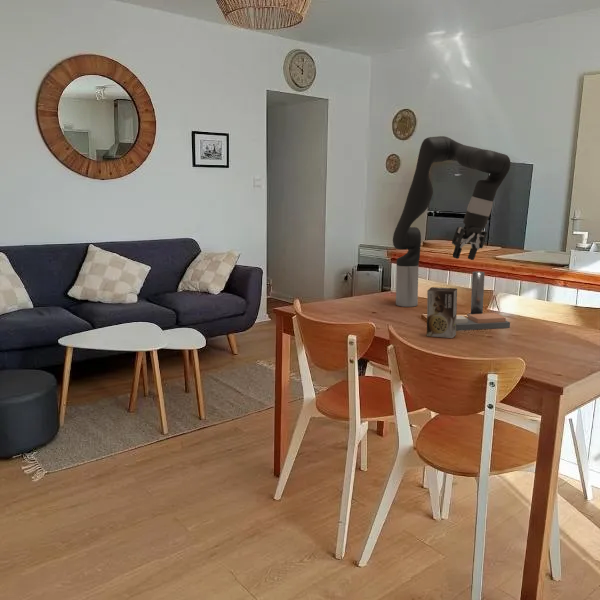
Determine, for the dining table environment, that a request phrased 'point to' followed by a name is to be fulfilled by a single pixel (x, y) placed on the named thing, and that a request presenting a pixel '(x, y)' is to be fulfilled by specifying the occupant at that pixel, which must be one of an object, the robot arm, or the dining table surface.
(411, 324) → the dining table surface
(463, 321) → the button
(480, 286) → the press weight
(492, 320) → the button
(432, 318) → the coffee box
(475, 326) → the button board
